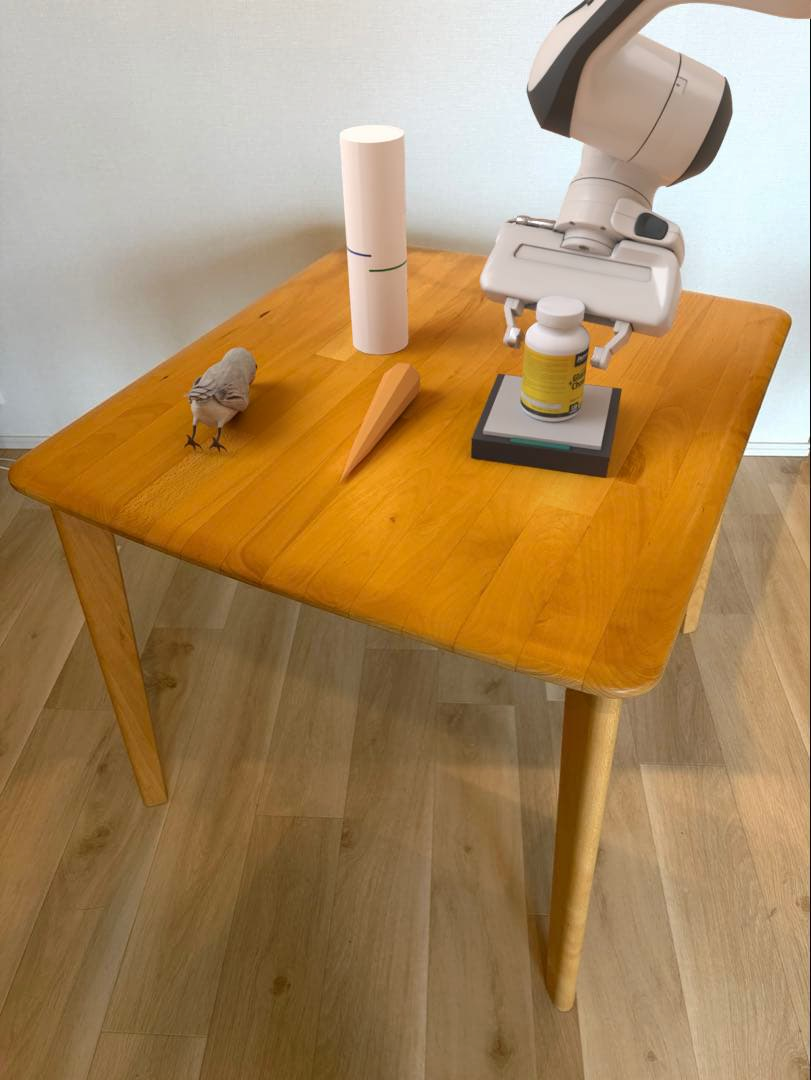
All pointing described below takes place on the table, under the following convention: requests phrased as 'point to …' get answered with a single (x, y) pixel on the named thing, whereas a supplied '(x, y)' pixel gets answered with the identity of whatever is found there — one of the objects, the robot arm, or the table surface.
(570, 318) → the pill bottle
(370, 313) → the cylindrical container
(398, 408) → the carrot
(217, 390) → the decorative bird
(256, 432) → the table surface
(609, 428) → the scale
